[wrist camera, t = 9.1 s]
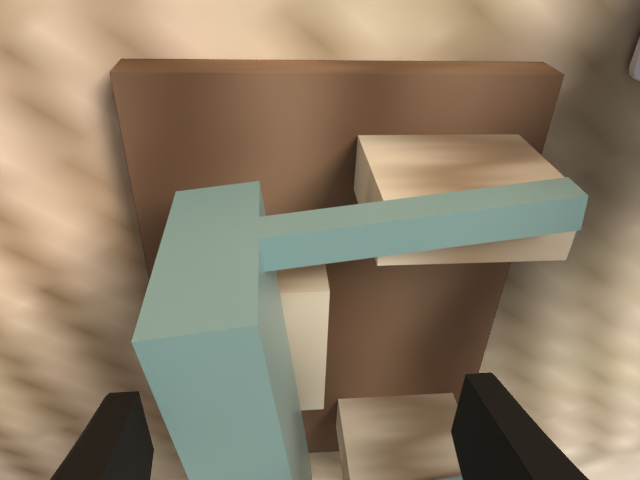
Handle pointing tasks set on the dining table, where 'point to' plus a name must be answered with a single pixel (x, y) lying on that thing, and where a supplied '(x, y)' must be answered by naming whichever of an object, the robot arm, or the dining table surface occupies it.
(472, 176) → the display stand
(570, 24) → the dining table surface
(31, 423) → the dining table surface
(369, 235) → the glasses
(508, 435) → the robot arm
